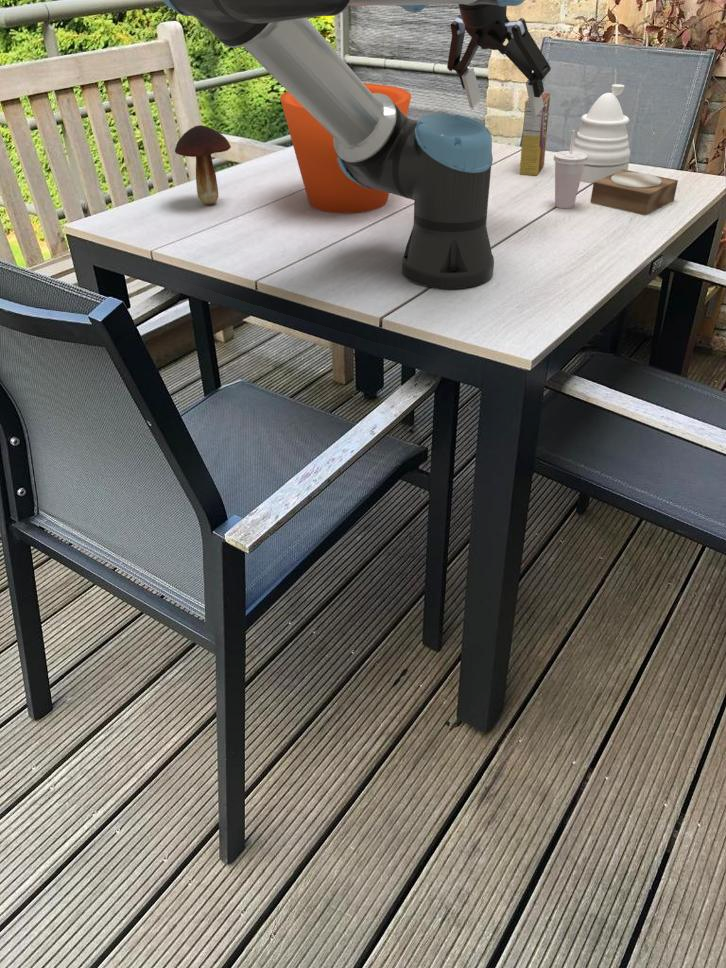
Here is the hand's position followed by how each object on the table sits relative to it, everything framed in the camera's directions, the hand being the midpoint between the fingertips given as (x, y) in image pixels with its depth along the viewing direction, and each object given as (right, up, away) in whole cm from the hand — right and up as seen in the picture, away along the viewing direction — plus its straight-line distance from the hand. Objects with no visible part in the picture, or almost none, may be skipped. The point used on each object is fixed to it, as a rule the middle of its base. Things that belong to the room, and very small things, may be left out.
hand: (506, 107), depth 151 cm
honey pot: (+25, -1, +31) cm, 40 cm away
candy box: (+12, +1, +35) cm, 36 cm away
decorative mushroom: (-58, -12, +17) cm, 61 cm away
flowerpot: (-29, -11, +18) cm, 36 cm away
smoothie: (+14, -13, +14) cm, 24 cm away
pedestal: (+28, -12, +15) cm, 34 cm away
